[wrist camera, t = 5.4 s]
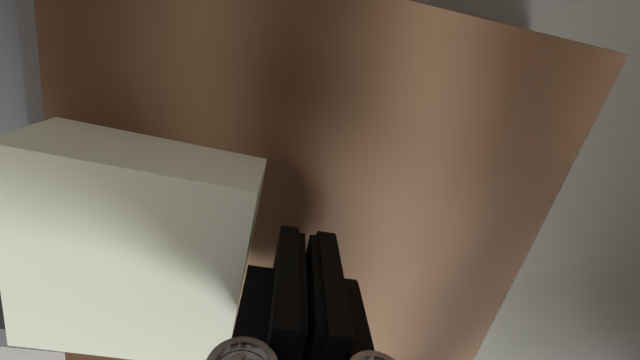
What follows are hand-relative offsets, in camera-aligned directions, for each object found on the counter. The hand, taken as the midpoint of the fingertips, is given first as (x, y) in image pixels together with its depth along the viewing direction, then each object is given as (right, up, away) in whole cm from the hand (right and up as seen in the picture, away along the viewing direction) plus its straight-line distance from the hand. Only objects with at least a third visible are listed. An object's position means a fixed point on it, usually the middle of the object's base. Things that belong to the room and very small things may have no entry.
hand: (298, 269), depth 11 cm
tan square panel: (0, +2, +5) cm, 6 cm away
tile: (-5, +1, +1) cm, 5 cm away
